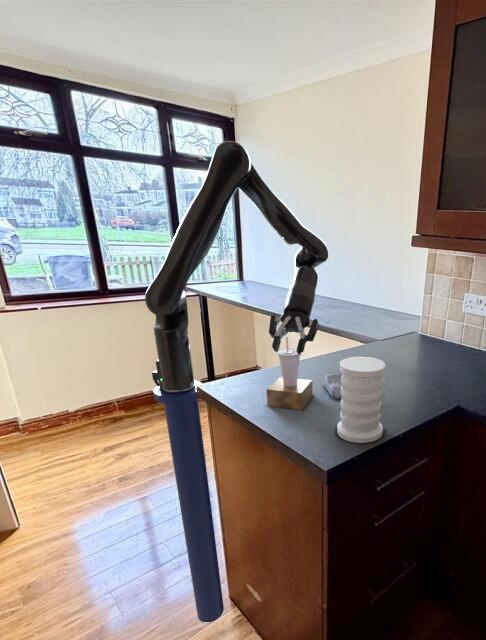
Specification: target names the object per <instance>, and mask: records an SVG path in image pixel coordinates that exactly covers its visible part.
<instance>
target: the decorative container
mask: <svg viewBox="0 0 486 640" xmlns="http://www.w3.org/2000/svg"><path fill="white" fill-rule="evenodd" d="M386 366H387V365H386V362H385V361H384V360H381V359H378V358H375V357H372V356H371V357H370V356H350V357H346V358H343V359H341V360H340V361H339V370H340V372H341V374H342V376H341V383H342V388H341V391H340V392H341V396H342V399H340V402H339V406H340V409H341V411H340V414H339V419H340V421H339V422H338V423H337V425H336V433H337V435H338V437H340V438H341V439H343V440H345V441H347V442H350V443H357V444H365V443H371V442H375V441H377V440H379V439H380V438H382V436H383V433H384V426H383V424H382V423H381V422H380V421H381V418H382V414H381V409H382V406H383V405H382V400H381V399H382V396H383V389H382V386H383V384H384V377H383V374H384V373H385V372H386V369H387V368H386Z"/></svg>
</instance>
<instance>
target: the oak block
mask: <svg viewBox="0 0 486 640" xmlns="http://www.w3.org/2000/svg"><path fill="white" fill-rule="evenodd" d="M312 397H313V379H303V378H297V385H296V386H293V387H287V386H284V383H283V378H282V376H279V377H278V378H277V379H276V380H275V381H274V382H273V383H272V384H271V385H270V386H268V387H267V388H266V401H267V405H266V406H267V407H277V408H282V409H283V408H284V409H292V410H300V411H301V410H303V409H304V407H306V405H307V404H308V402H309V401H310V400H311V398H312Z"/></svg>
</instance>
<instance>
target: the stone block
mask: <svg viewBox="0 0 486 640" xmlns="http://www.w3.org/2000/svg"><path fill="white" fill-rule="evenodd" d="M341 376H342V373H331V374H327V375H325V376H324V379H323V380H324V381H323V382H324V383H323V384H324V387H325V389H326V391H327V392H328V393H329V395H330V396H331V397H332V398H333V399H335V400H341V399H342V396H341V392H340V391H341V388H342V383H341Z"/></svg>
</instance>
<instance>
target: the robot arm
mask: <svg viewBox="0 0 486 640" xmlns="http://www.w3.org/2000/svg"><path fill="white" fill-rule="evenodd" d="M237 189H239V190H240V191H241V192H242V193H243V194H244V195H246V197H247V198H248V199H249V200H250V201H251V202H252V204H254V206H255V207H256V208H257V209H258V211H259V212H260V214H261V215H262V216H263V217H264V219H265V220H266V222H267V223H268V224H269V225H270V226H271V228H272V229H273V230H274V231H275V232H276V233H277V235H278V236H279V237H280V238H281V239H282V240H283V241H284V243H286V244H287V245H289V246H290V245H298V246H300V248H299V249H298V250H297V252H296V253H295V256H294V276H293V280H292V283H291V286H290V287H289V290H288V294H287V297H286V300H285V305H284V308H283V313H282V314H281V315H280V316H275V315H273V314H272V315H271V316H270V320H269V327H268V334H269V335H270V337H271V338H272V339H273V340H272V344H271V347H272V349H273V351H274V352H275V353H277V352H278V351H280V346H281V342H282V339H283V338H284V336H287V334H288V333H296V334H299V339H298V342H297V345H296V349H297V353H298V354H301V355H302V353H304V351H305V347H306V344H307V342H313V341H314V339H315V337H316V335H317V333H318V330H319V327H320V323H319V321H318V319H317V318H314V319H311V314H312V310H313V306H314V303H315V298H316V291H317V286H318V282H319V273H318V271H317V269H316V268H317V267H318V266H320V265H322V264H324V263H325V262H326V261H327V260H328V259H329V258H330V257H329V256H330V252H329V248H328V246H327V244H326V243H325V242H324V241H323V240H322V238H320V237H319V236H318V235H316V234H315V233H313V232H312V231H311V230H309V229H308V228H306V227H305V226H304V225H303V224H302V222H300V220H299V219H298V218H297V217H296V216H295V214H294V213H293V212H292V211H291V209H289V207H288V206H287V205H286V204H285V203H284V202H283V201H282V200H281V199H280V198H279V197H278V195H276V193H274V191H273V190H272V189H271V188H270V187H269V185H268V184H267V183H266V182H265V180H263V177H261V175H260V174H259V172H258V171H257V169H256V168H255V166H254V164H253V163H252V161H251V158H250V155H249V153H248V151H247V150H246V149H245V147H244V146H243V145H241V144H240V143H239V142H237V141H234V140H226V141H223V142H221V143H219V144H218V145H217V146H216V147H215V149H214V151H213V155H212V158H211V161H210V164H209V167H208V170H207V173H206V175H205V177H204V181H203V183H202V185H201V187H200V189H199V190H198V192H197V194H196V195H195V197H194V198H193V200H192V201H191V203H190V205H189V207H188V208H187V210H186V212H185V214H184V216H183V217H182V219H181V222H180V224H179V226H178V228H177V230H176V233H175V235H174V237H173V239H172V242H171V244H170V247H169V249H168V251H167V254H166V257H165V260H164V262H163V264H162V266H161V267H160V269H159V271H158V273H157V274H156V275H155V277H154V279H153V280H152V282H151V283H150V285H149V287H148V288H147V290H146V292H145V295H144V302H145V306H146V307H147V309H148V310H149V311H150V313H152V314H153V315H155V323H154V326H153V335H154V341H155V348H156V354H157V360H156V361H155V368H156V370H154V371H151V375H152V381H153V382H154V384H155V385H156V387H157V386H158V387H159V386H160V390H163V391H164V392H166V393H170V394H178V393H185V392H188V391H191V390H193V389H194V388H195V382H194V380H195V378H194V368H193V361H192V354H191V353H192V352H191V344H190V337H189V322H190V321H189V311H188V309H189V308H188V300H187V296H186V295H187V294H186V293H185V292H186V291H185V288H186V286H187V284H188V282H189V280H190V278H191V276H192V275H193V273H194V272H195V271H197V269H198V268H199V266H200V265H201V264H202V262H203V261H204V259H205V258H206V256H207V255H208V254H209V252H210V251H211V249H212V246H213V245H214V243H215V241H216V238H218V237H217V236H218V234H219V232H220V230H221V227H222V225H223V221H224V218H225V215H226V212H227V208H228V207H229V204H230V201H231V199H232V198H233V196H234V195H235V193H236V191H237ZM280 322H281V324H280ZM279 324H280V325H279ZM309 326H310V327H309ZM277 327H278V328H277ZM307 327H309V330H308V332H307V334H306V331H305V329H306V328H307Z"/></svg>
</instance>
